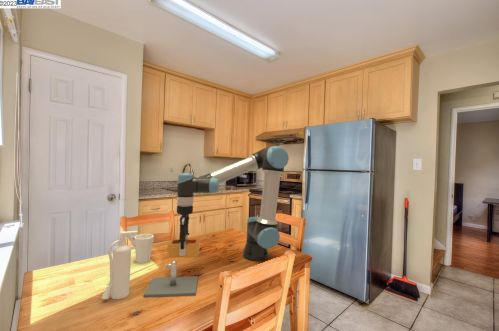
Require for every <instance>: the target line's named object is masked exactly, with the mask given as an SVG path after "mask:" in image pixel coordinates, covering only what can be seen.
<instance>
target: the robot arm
mask: <svg viewBox="0 0 499 331" xmlns="http://www.w3.org/2000/svg"><path fill="white" fill-rule="evenodd" d="M289 158H290V157H289V154H288V152H287V150H286V149H285V148H284V147H282V146H278V145H277V146H276V145H275V146H268V147H264V148H262V149H260V150H258V151H256V152H254V153H252V154H250V155H249V157H247V158H243V159H241V160H238V161H236V162H234V163H231V164H229V165H227V166H224V167H222V168H219V169H216V170H213V171H211V172H210V173H207V174H204V175H200V176H198V177H195V174H194V173H189V172H181V173H179V174H178V176H177V177H178V178H177V197H176V198H175V200H176V201H177V202H176V205H177V206H176V214H178V215H181V216H180V217H179V222H180V223H179V238H178V239H179V241H178V242H180V246H179V256H185V250H186V240H185V239H189V237H188V236H190V233H189V222H190V221H189V220H190V215H191V214H193V213H194V212H193V211H194V194H214V193H215V194H216V193H218V192H219V185H220V184H222V183H225V182H227V181H229V180H232V179H234V178H236V177H239V176H241V175H244V174H245V173H248V172H250V171H252V170H255V171H258V170H260V169H261V170H262V172H263V173H264V175H263V184H262V185H263V186H262V192H261V202H260V209H259V210H260V211H259V216H250V217H248V218H247V222H246V240H245V241H246V242H245V246H244V248H243V250H242V256H243V258H245V259H247V260H248V261H249V260H250V261H254V262H255V261H256V262H259V261H260V262H261V261H265V260H267V259H268V258H269V251H268V250H270V249H273V248H274V247H276V246H277V245H278V243H279V241H280V239H281V237H280V233H279V231H278V225H279V224H278V221H277V218H276V216H277V207H278V199H279V191H280V181H281V175H282V174H284V172H285V167H286V165H288V163H289V160H290V159H289Z"/></svg>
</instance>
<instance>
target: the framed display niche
mask: <svg viewBox="0 0 499 331" xmlns="http://www.w3.org/2000/svg"><path fill="white" fill-rule="evenodd" d="M185 240H186V250H185V256H179V246H180V242H178V241H179V238H173V239H172V238H170V240H169V242H168V244H167V256H166V257H167V258H168V259H170V258H171V259H174V258H175V259H176V258H199V253H200V238H188V239H185Z"/></svg>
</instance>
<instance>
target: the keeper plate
mask: <svg viewBox="0 0 499 331" xmlns="http://www.w3.org/2000/svg"><path fill="white" fill-rule="evenodd" d="M198 279H199V276H196V275H195V276H194V275H193V276H177V277H176V285H175V286H170V276H164V277H163V276H161V277H160V276H158V277H157V276H156V277H152V278H151V280H150V282H149V284H148V286H147V288H146V289H145V291H144V294H143V298H158V297H159V298H162V297H185V296H188V297H189V296H190V297H191V296H196V294H197V287H198Z"/></svg>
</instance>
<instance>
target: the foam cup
mask: <svg viewBox="0 0 499 331" xmlns="http://www.w3.org/2000/svg"><path fill="white" fill-rule="evenodd" d="M154 238H155V237H154V234H152V233H142V234H136V235H134V237H133V239H134V240H135V243H136V245H135V246H134V250H135V251H134V252H135V260H136V263H137V264H145V263H148V262H150V258H151V256H152V255H151V254H152V247H153V245H154V244H153V242H154V240H155V239H154Z"/></svg>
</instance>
